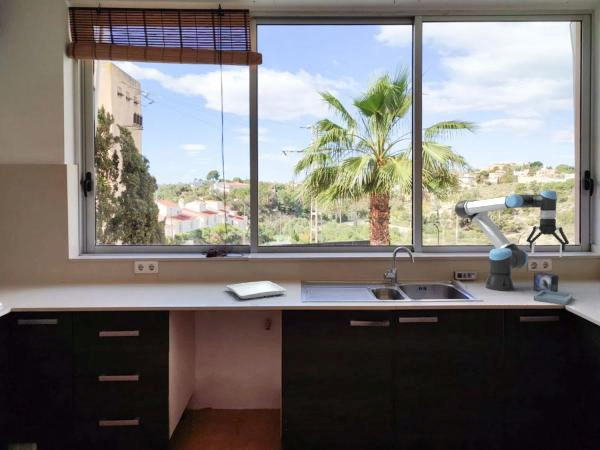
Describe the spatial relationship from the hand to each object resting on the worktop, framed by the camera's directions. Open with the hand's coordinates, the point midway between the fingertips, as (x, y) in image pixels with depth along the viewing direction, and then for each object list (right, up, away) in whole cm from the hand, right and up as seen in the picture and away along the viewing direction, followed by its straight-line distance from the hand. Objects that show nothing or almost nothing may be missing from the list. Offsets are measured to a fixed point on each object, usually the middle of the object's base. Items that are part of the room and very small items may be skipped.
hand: (546, 255), depth 215 cm
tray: (-6, -22, -15) cm, 27 cm away
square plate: (-165, -22, +3) cm, 167 cm away
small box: (0, -21, +1) cm, 21 cm away
